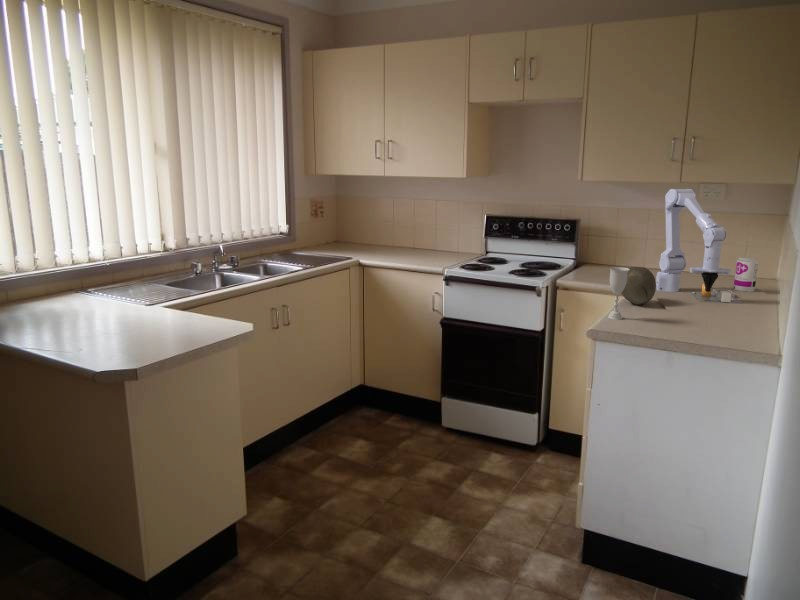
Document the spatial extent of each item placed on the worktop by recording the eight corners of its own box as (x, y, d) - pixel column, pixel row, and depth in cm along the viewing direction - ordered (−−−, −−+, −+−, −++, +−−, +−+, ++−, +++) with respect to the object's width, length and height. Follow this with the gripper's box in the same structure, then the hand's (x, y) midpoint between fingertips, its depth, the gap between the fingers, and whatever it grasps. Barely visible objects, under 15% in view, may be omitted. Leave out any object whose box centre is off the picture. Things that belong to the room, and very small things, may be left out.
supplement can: (743, 294, 270) (747, 259, 267) (728, 290, 278) (732, 256, 275) (758, 293, 273) (763, 259, 269) (743, 289, 280) (748, 256, 277)
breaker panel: (700, 304, 251) (700, 300, 251) (689, 294, 269) (689, 291, 268) (743, 306, 248) (744, 302, 248) (729, 296, 266) (730, 293, 265)
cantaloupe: (656, 302, 253) (660, 265, 250) (650, 309, 241) (654, 271, 238) (620, 298, 260) (623, 262, 257) (612, 305, 248) (616, 267, 245)
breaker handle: (722, 301, 250) (723, 293, 250) (719, 299, 254) (720, 291, 254) (730, 302, 250) (731, 293, 249) (727, 300, 254) (728, 291, 253)
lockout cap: (702, 296, 260) (703, 284, 259) (700, 295, 264) (701, 283, 263) (711, 297, 260) (713, 285, 258) (709, 295, 263) (710, 283, 262)
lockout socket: (716, 297, 260) (716, 292, 259) (711, 293, 266) (712, 289, 266) (734, 298, 258) (734, 293, 258) (728, 294, 265) (729, 290, 264)
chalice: (609, 314, 233) (613, 266, 229) (627, 317, 229) (632, 268, 225) (601, 318, 228) (606, 269, 224) (620, 321, 224) (625, 271, 220)
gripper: (694, 258, 247) (690, 292, 250) (734, 260, 244) (730, 294, 247) (690, 255, 254) (686, 288, 257) (729, 257, 251) (724, 290, 254)
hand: (707, 291), depth 253 cm, fingers closed
